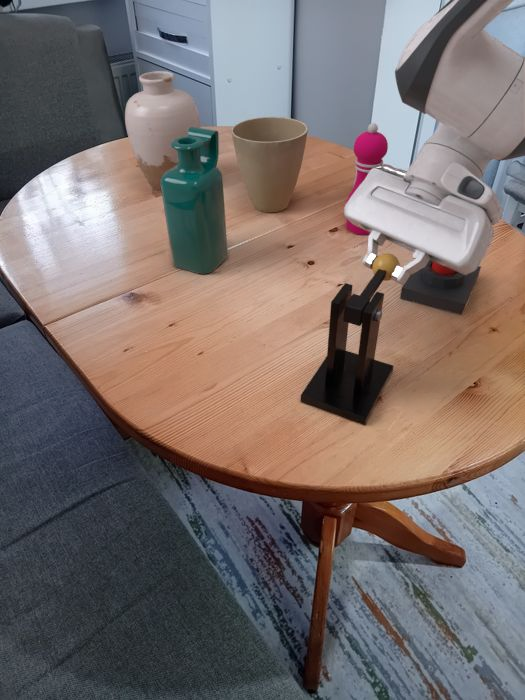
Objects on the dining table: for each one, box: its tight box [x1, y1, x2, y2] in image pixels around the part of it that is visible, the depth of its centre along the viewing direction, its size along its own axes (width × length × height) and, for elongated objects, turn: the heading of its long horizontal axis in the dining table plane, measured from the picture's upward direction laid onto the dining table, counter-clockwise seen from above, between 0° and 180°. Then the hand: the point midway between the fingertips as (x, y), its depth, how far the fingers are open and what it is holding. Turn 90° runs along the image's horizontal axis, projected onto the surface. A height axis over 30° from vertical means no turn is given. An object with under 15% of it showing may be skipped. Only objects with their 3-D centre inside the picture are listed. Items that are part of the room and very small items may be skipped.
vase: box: [124, 70, 201, 192], centre depth 117 cm, size 16×16×23 cm
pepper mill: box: [345, 122, 389, 236], centre depth 100 cm, size 7×7×20 cm
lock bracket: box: [299, 282, 395, 426], centre depth 68 cm, size 11×9×15 cm
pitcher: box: [161, 127, 229, 275], centre depth 92 cm, size 10×8×22 cm
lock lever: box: [343, 253, 401, 327], centre depth 68 cm, size 14×4×4 cm, turn 152°
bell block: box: [399, 260, 482, 316], centre depth 89 cm, size 12×10×4 cm
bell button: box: [432, 261, 457, 275], centre depth 87 cm, size 4×4×2 cm
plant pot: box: [230, 116, 309, 213], centre depth 110 cm, size 15×15×16 cm
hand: (382, 274), depth 72 cm, fingers closed on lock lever, 3 cm apart
